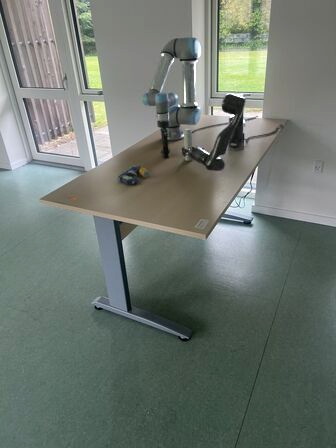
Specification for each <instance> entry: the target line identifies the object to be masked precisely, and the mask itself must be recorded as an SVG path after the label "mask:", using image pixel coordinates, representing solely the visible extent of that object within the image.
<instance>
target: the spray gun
mask: <svg viewBox="0 0 336 448" xmlns="http://www.w3.org/2000/svg"><path fill="white" fill-rule="evenodd" d="M138 174H139V175H140V176H142V177H143V178H144V179H147V178H149V177H150V171H149V170H148V169H146V168H145V167H141V165H140V164H138V165H131V166H130V167H129V168H127V169H126V170H125V171H123V172H122V173H120V174H119V175H118V176H117V179H116V182H119V183H124V184H126V186H127V185H128V186H129V185H135V184H136V183H138V182H139V177H138Z"/></svg>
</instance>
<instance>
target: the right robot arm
mask: <svg viewBox="0 0 336 448" xmlns="http://www.w3.org/2000/svg"><path fill="white" fill-rule="evenodd" d="M245 107H246V96H245V95H244V94H234V93H227V94H225V96H224V97H223V99H222V102H221V111H222V112H223V113H225V114H229V115H230V116H229V118H228V122H229V123H228V124H227V126H226V127H224V128H223V129H222V130H221V131H220V132H219V134H217V136H216V138H215V141H214V145H213V148H212V149H211V151H210V152H207V151H206V150H205V148H204V147H203V146H198V145H197V146H193V145H192V149H186V148H185V146H182V147H181V155H182V156H183V157H184V158H185V157H186V155H189V156H191V158H192V159H193V161H195V162H196V163H198V164H200V165H202V166H205V169H206V170H207V171H212V172H221V171H223V170H224V169H225V166H226V163H225V160H224V159H223V158H222V157H220V156H224V155H226V153H227V150H229V151H230V150H231V151H240V150H242V149H244V148H245V143H248V142H249V139H252V138H258V137H263V136H267V135H271V134H274V133H276V132H277V130H278V128H279V127H282V126H283V125H282V124H281V123H280V124H279V125H277V127H276V128H275V130H273V131H271V132H269V133H268V132H267V133H264V134H258V135H252V136H249V137H247V139H246V138H245V133H244V126H245V125H244V124H245V122H244V120H245V119H244V118H245ZM186 151H187V152H186Z"/></svg>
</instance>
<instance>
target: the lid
mask: <svg viewBox="0 0 336 448" xmlns="http://www.w3.org/2000/svg"><path fill="white" fill-rule="evenodd" d="M170 153H171V149H170V148H168V154H170ZM160 154H161V155H163V154H164V149H163V148H161V149H160Z"/></svg>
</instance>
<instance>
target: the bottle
mask: <svg viewBox="0 0 336 448" xmlns="http://www.w3.org/2000/svg"><path fill="white" fill-rule="evenodd" d="M192 131H193V130H192V128H191V127H186V128H184V129H183V133H184V137H183V145H184V146H183V147H184V148H186V149H192V146H193V132H192ZM186 152H187V151H186ZM184 160H185V161H187V162H190V161H194V159H192V158H191V156H189V155H186V157H184Z"/></svg>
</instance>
